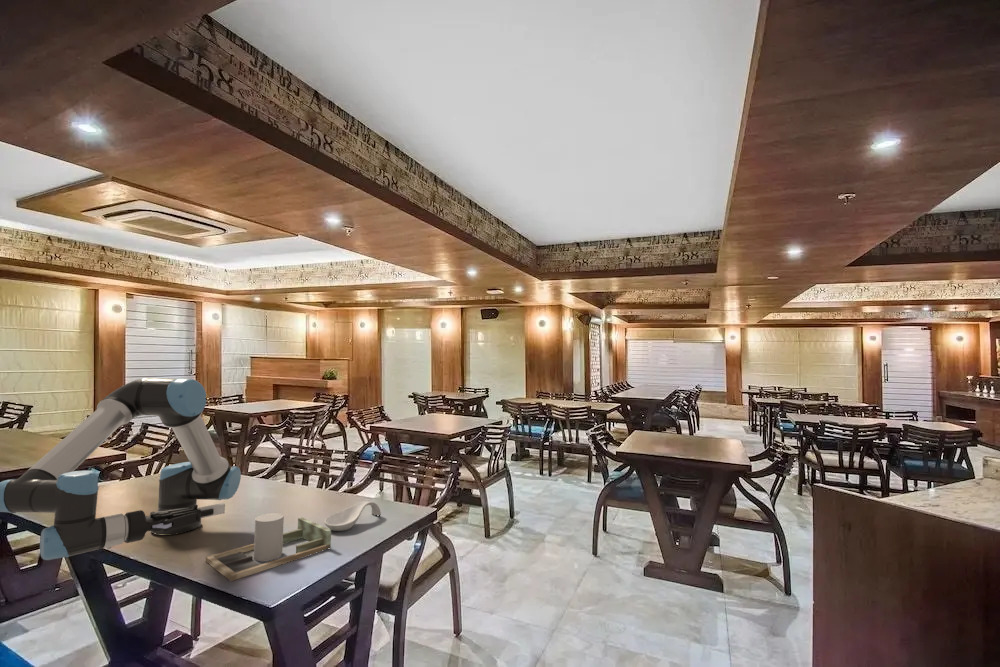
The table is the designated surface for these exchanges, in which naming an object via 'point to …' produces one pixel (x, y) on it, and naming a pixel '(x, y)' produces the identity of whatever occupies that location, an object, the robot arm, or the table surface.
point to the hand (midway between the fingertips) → (223, 508)
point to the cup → (268, 536)
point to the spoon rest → (349, 516)
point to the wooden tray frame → (241, 565)
